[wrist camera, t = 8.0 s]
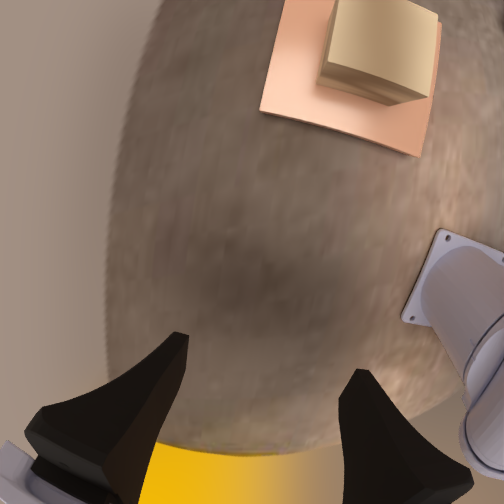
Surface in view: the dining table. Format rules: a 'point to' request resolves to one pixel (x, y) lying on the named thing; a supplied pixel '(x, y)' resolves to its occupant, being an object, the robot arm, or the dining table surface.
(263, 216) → the dining table surface
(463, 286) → the robot arm
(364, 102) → the riser
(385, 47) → the beech block
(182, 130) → the dining table surface
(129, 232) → the dining table surface
